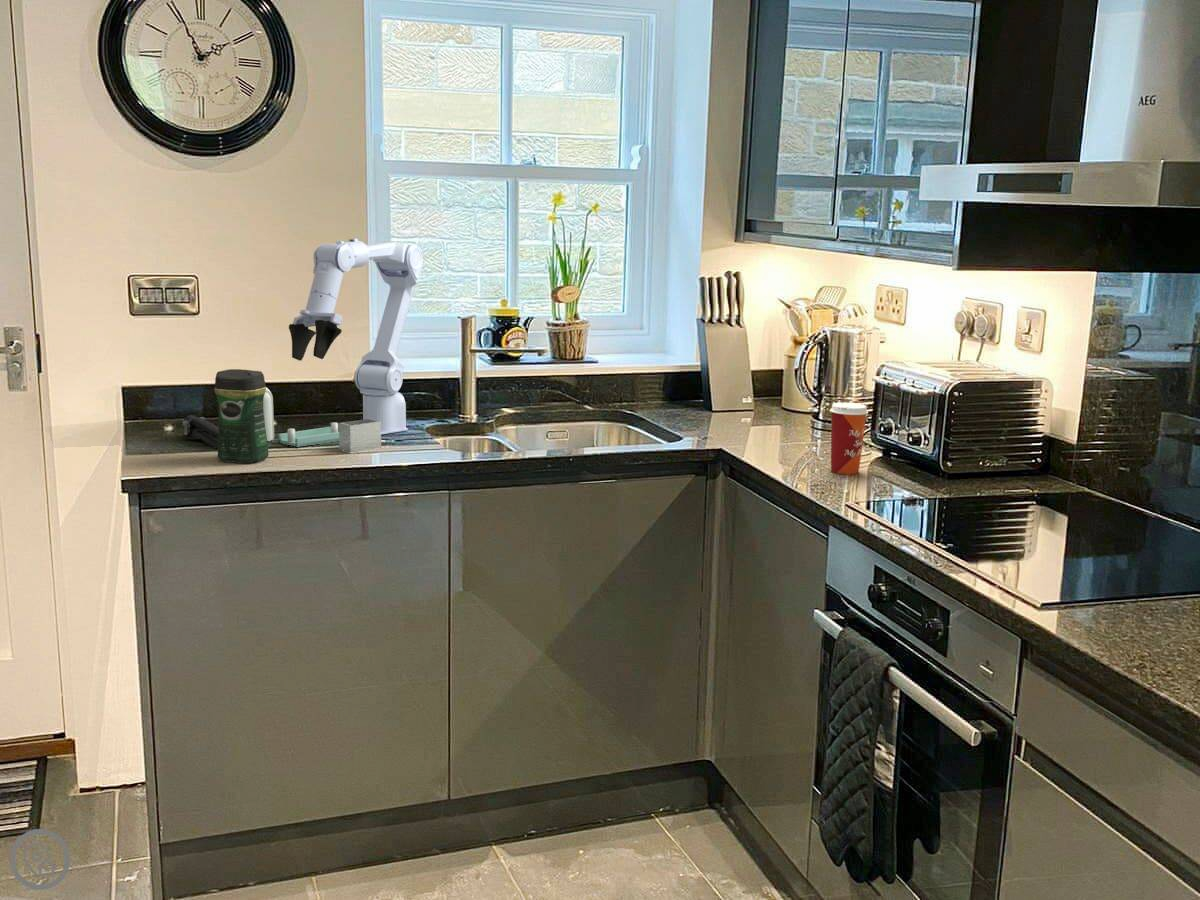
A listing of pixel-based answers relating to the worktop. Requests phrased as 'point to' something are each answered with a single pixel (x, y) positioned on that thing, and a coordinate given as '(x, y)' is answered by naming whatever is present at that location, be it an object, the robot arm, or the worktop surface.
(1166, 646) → the worktop surface
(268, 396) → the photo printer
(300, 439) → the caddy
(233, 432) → the coffee jar
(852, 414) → the paper cup
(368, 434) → the light grey rectangular block
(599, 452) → the worktop surface
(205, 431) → the can opener
